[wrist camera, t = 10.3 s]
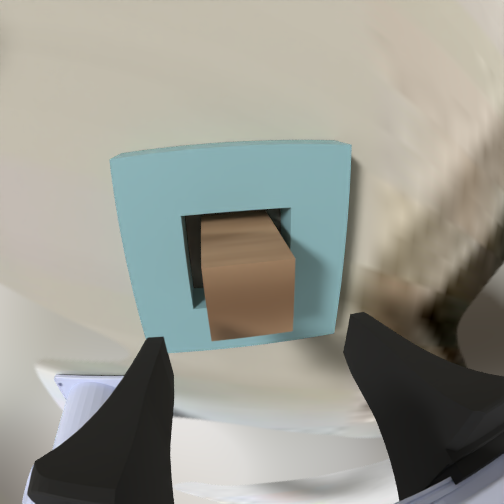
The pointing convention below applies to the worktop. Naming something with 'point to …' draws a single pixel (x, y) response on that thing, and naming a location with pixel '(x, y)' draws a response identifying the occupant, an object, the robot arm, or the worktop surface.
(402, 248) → the worktop surface
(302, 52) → the worktop surface
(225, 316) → the walnut peg
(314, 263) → the socket plate
